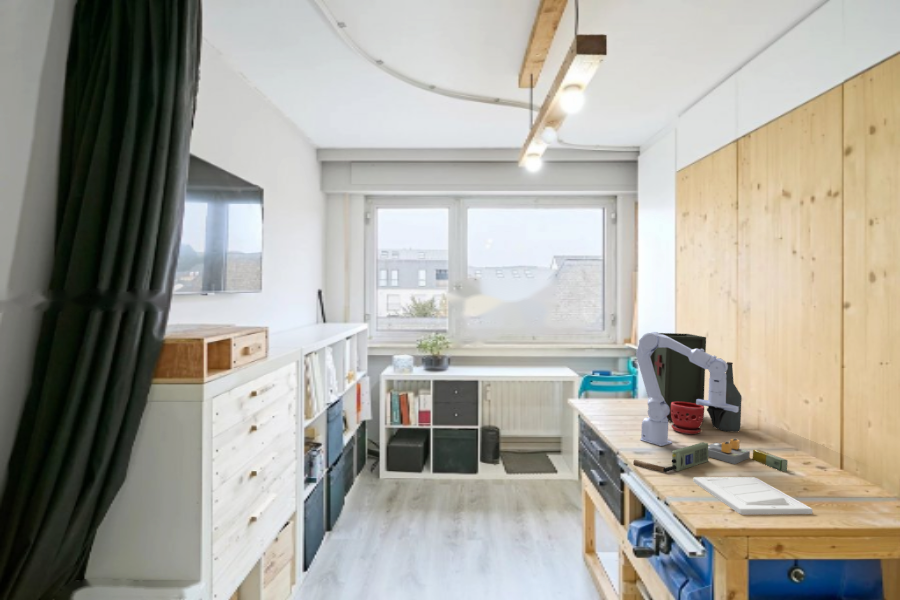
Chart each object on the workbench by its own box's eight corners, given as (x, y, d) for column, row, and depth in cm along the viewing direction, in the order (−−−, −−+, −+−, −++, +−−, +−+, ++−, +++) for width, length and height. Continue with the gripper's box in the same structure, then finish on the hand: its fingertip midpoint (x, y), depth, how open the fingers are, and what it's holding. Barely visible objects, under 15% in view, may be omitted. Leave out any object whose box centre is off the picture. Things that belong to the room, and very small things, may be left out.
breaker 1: (721, 451, 176) (721, 441, 176) (724, 450, 178) (724, 440, 178) (728, 453, 174) (728, 443, 174) (731, 452, 176) (731, 442, 176)
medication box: (787, 471, 166) (788, 460, 166) (781, 472, 165) (782, 460, 165) (757, 459, 177) (758, 448, 177) (751, 460, 177) (752, 449, 177)
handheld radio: (710, 462, 173) (669, 475, 159) (701, 459, 176) (660, 472, 162) (710, 443, 174) (669, 455, 160) (701, 441, 176) (660, 452, 162)
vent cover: (813, 503, 133) (740, 503, 132) (812, 515, 133) (740, 516, 132) (755, 472, 156) (692, 472, 154) (755, 482, 156) (692, 482, 154)
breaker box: (700, 454, 181) (700, 447, 181) (715, 448, 188) (716, 442, 188) (734, 464, 171) (734, 456, 171) (749, 458, 178) (749, 450, 178)
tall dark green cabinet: (703, 421, 228) (706, 337, 228) (663, 420, 229) (666, 336, 228) (684, 412, 247) (687, 333, 246) (648, 411, 247) (650, 332, 246)
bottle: (731, 426, 222) (734, 360, 221) (745, 432, 212) (748, 364, 212) (709, 425, 222) (712, 360, 221) (722, 432, 212) (724, 363, 211)
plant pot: (705, 437, 203) (706, 409, 203) (670, 433, 208) (671, 405, 208) (701, 429, 215) (702, 402, 215) (669, 425, 220) (670, 399, 220)
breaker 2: (729, 447, 180) (730, 438, 180) (732, 446, 182) (733, 437, 182) (736, 449, 179) (736, 440, 178) (739, 448, 180) (739, 439, 180)
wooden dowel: (635, 460, 170) (634, 465, 169) (634, 459, 169) (633, 464, 168) (665, 467, 163) (664, 473, 162) (663, 466, 162) (662, 472, 161)
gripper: (742, 393, 179) (741, 430, 179) (703, 386, 190) (701, 421, 191) (734, 395, 174) (732, 433, 175) (693, 388, 186) (692, 423, 186)
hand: (716, 427), depth 182 cm, fingers closed
